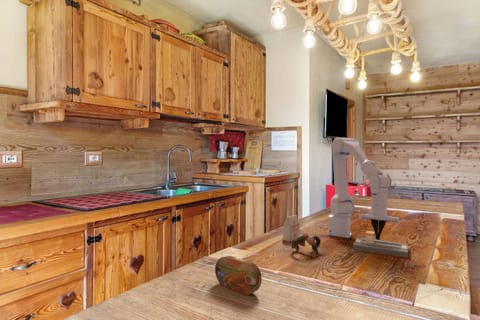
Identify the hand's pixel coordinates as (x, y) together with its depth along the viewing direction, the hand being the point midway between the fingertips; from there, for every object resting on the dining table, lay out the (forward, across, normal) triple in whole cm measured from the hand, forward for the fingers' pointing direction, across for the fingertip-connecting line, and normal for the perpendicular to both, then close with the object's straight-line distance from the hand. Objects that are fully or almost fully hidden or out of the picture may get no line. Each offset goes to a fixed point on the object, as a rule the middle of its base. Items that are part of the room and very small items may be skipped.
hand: (377, 239), depth 129 cm
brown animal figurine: (+4, -23, -19) cm, 30 cm away
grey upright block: (+4, -34, -4) cm, 34 cm away
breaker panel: (+4, +1, 0) cm, 4 cm away
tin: (+4, -32, -59) cm, 67 cm away
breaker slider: (+2, -3, 0) cm, 3 cm away
